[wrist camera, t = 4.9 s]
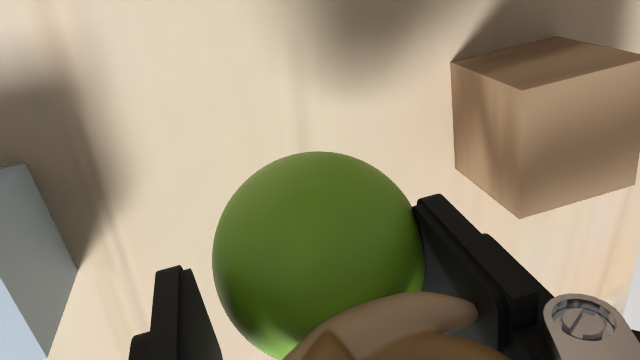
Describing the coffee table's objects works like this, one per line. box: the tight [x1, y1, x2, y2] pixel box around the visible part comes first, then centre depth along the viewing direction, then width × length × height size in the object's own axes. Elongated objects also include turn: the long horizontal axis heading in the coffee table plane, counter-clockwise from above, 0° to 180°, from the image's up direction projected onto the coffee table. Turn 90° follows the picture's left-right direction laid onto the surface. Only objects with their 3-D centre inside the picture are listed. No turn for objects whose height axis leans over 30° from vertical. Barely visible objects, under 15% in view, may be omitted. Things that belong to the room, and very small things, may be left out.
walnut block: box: [450, 37, 640, 219], centre depth 19 cm, size 5×5×5 cm
